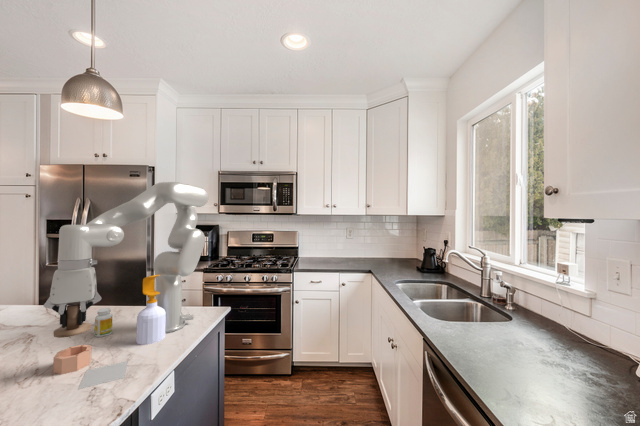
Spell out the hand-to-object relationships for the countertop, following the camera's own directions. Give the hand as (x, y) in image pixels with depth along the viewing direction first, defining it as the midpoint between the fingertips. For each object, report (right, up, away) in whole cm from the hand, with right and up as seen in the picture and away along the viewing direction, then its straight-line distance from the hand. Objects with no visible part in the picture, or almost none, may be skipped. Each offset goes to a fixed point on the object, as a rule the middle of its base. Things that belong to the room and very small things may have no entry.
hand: (73, 324), depth 81 cm
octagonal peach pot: (0, -13, 0) cm, 13 cm away
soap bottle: (+12, -14, +18) cm, 26 cm away
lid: (0, -2, 0) cm, 2 cm away
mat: (+13, -14, -4) cm, 19 cm away
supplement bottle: (-9, -14, +23) cm, 28 cm away
